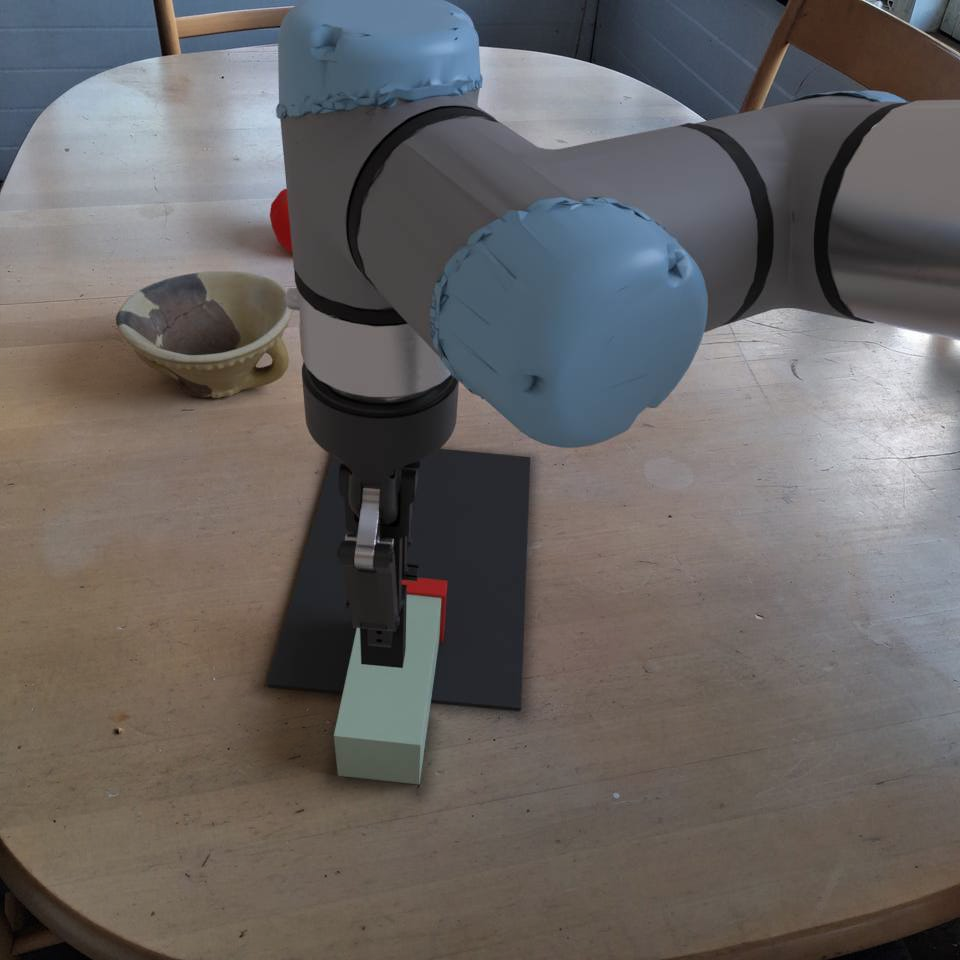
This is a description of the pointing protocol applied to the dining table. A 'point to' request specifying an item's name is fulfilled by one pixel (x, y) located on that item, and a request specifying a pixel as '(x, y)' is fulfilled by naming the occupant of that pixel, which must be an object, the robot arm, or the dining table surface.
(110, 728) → the dining table surface
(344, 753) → the container
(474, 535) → the mat
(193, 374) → the bowl
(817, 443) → the dining table surface
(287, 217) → the tomato
